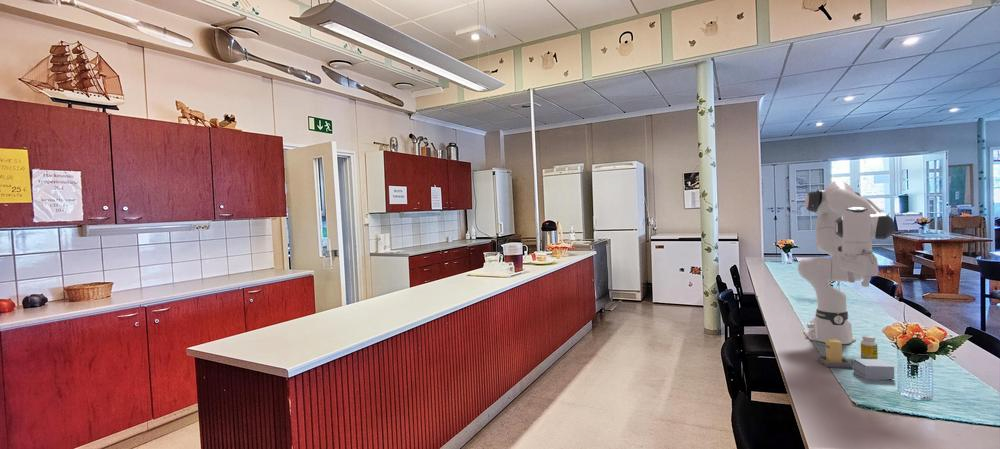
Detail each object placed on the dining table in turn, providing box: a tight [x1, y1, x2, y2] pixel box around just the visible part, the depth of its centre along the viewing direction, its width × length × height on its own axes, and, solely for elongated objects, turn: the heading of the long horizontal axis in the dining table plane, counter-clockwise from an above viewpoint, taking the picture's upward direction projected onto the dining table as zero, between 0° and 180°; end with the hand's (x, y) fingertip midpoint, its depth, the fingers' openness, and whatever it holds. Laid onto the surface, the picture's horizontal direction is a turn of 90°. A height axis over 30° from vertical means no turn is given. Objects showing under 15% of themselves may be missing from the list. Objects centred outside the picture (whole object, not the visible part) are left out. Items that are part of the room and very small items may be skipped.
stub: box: [825, 339, 843, 362], centre depth 182 cm, size 4×4×9 cm
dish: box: [816, 355, 853, 369], centre depth 182 cm, size 9×9×2 cm
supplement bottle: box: [860, 334, 879, 359], centre depth 185 cm, size 5×5×10 cm
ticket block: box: [853, 358, 895, 381], centre depth 168 cm, size 8×9×5 cm
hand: (858, 284), depth 175 cm, fingers open, 8 cm apart
